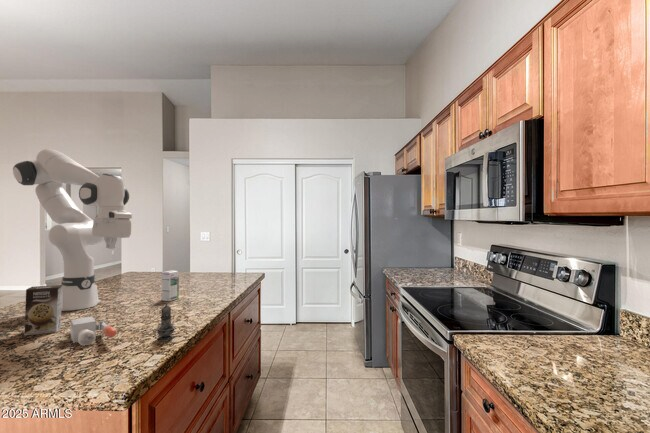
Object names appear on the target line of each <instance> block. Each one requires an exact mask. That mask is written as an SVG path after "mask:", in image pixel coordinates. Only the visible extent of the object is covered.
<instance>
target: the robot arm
mask: <svg viewBox="0 0 650 433" xmlns="http://www.w3.org/2000/svg"><path fill="white" fill-rule="evenodd" d="M12 174H13V177H14V179H15V180H16V181H17V183H18V184H21V185H22V186H35V185H36V186H35V191H34V192H35V195H36V197H37V199H38V201H39V203H40V204H41V206H42V207H43V209H44V210H45V212H46V213H47V215H48V216H49V218H50V219H51V220H52V221H53V222H54V223H56V224H55V225H53V226H52V227H51V228H50V229H49V230H48V241H49V242H50V243H51V245H52V246H55V247H56V248H57V250H59V252H60V254H61V256H62V261H63V277H62V278H61V283H60V285H62V303H61V312H64V311H77V310H83V309H84V310H85V309H89V308H92V307H93V308H94V307H95V306H97V305H98V304H100V303H101V299H99V293H98V285H96V283H95V282H96V277H95V276H96V275H95V274H94V273H95V259H94V257H93V256H91V254H88V252H87V250H86V246H88V247H89V246H94V245H99V244H100V243H102V242H104V243H105V246H106V247H105V248H106V249H110V250H112V249H113V250H114V249H115V248H116V245H117V244H116V243H117V242H118V238H119V239H126V238H127V239H128V238H130V237H131V235H132V220H131V219H133V214H132V213H131V212H129V211H127V210H126V209H125V205H127V203H128V202H129V199H130V193H129V190H128V189H127V187H125V183H124V179H123V177H122V176H120V175H116V174H112V173H101V174H100V175H99V174H98V173H97V172H94V171H92V170H90V169H89V168H87V167H86V166H83V165H82V164H80V163H78V162H77V161H76V160H74V159H72V158H71V157H70V156H68V155H66V154H65V153H63V152H62V151H59V150H57V149H53V148H44V149H42V150H41V151H39V152H38V153H37V155H36V159H32V160H24V161H20V162H18V163H16V164H14V165H13V167H12ZM63 184H66V185H75V186H80V188H79V189H78V190H79V191H78V198H79V200H80V202H82V203H83V204H84V205H86V206H90V207H97V215H96V216H95V219H92V218H91V217H89V216H88V215H87V214H85V213H84V212H83V211H82V210H81V208H79V207H78V205H77V204H76V202H74V200H73V199H72V198H71V196H70V195H69V194H68V192H67V191H66V190H65V188H64V186H63Z"/></svg>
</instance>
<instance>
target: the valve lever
mask: <svg viewBox="0 0 650 433" xmlns="http://www.w3.org/2000/svg"><path fill="white" fill-rule="evenodd" d="M98 324H99V331H101V332H103V334H104V335H106V336H107V337H108V338H115V336H116V335H117V333H118V332H117V330H116V329H115V328H114V327H112V326H111V325H109V324H107V323H106V321H105V320H102V321H100V322H98Z"/></svg>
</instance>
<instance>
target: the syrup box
mask: <svg viewBox="0 0 650 433" xmlns="http://www.w3.org/2000/svg"><path fill="white" fill-rule="evenodd" d="M179 273H180V272H179V270H172V269H171V270H166V271H162V272H161V301H166V302H171V301H175V300H178V299H179V293H180V292H179V279H180V278H179V276H180V275H179Z"/></svg>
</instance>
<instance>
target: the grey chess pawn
mask: <svg viewBox="0 0 650 433" xmlns="http://www.w3.org/2000/svg"><path fill="white" fill-rule="evenodd" d="M171 310H172V308H171V306H168V303H165V306H163V307H162V308H161V316H160V319H161V320H160V326H158V327H157V328H156V331H157V335H158V337H157V339H156V340H157V342H167V341H172V340H173V339H175V336H174V335H172V334H173V333H174V331H175V329H176V326H175V325H172V317H173V315H171V314H172V311H171Z"/></svg>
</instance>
